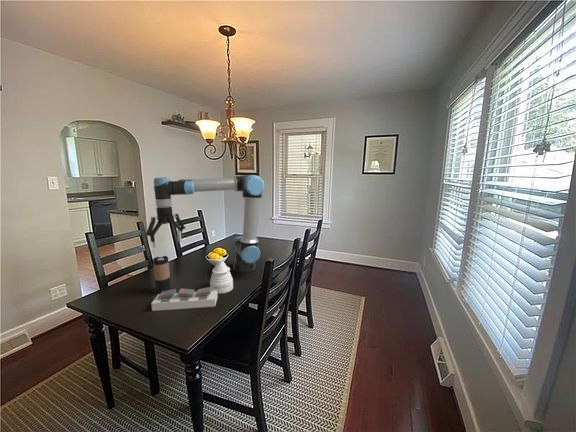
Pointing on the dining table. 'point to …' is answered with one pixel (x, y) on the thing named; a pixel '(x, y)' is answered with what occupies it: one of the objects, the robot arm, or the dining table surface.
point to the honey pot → (221, 278)
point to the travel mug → (161, 274)
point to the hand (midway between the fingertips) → (168, 244)
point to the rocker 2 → (203, 291)
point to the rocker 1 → (167, 294)
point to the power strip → (184, 302)
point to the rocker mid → (186, 292)
